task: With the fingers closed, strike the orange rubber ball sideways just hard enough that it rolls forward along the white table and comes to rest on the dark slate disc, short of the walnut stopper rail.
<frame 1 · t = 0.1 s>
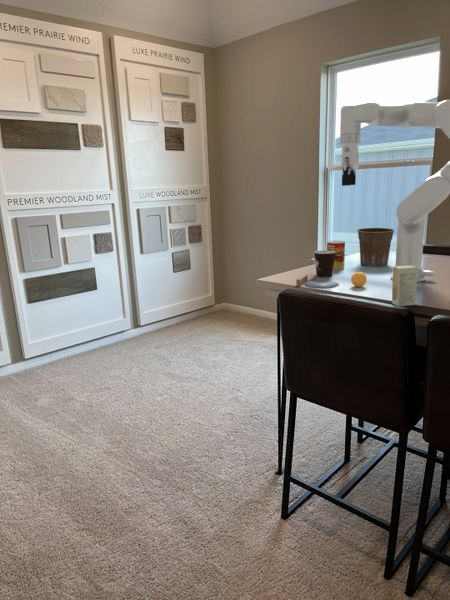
hand: (348, 185, 178), 37 cm above the table, tool pointing down, fingers open, 9 cm apart
ball: (358, 279, 167), on the table
canned food: (335, 268, 205), on the table
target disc: (321, 284, 174), on the table
coffee mug: (324, 275, 191), on the table
skincare box: (403, 304, 143), on the table
plant pot: (374, 264, 209), on the table
stopper rail: (302, 283, 178), on the table
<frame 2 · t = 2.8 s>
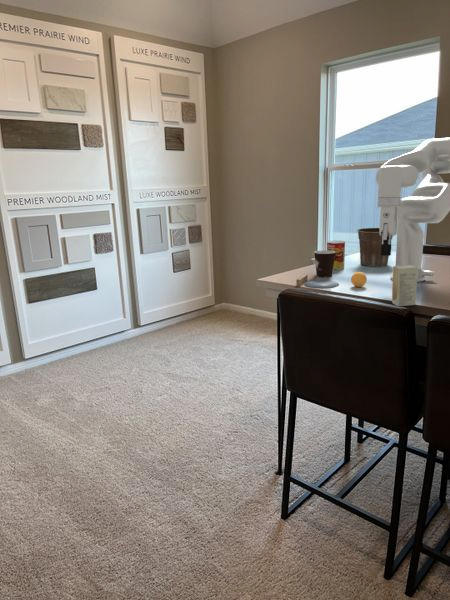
hand: (385, 255, 161), 12 cm above the table, tool pointing down, fingers closed
nothing on the table moved.
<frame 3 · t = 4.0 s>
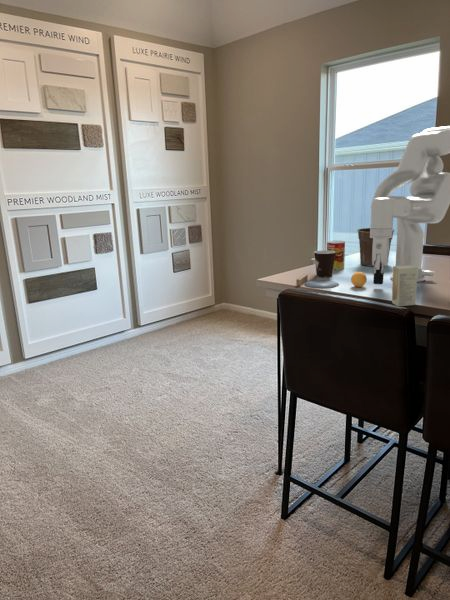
hand: (378, 283, 164), 2 cm above the table, tool pointing down, fingers closed
nothing on the table moved.
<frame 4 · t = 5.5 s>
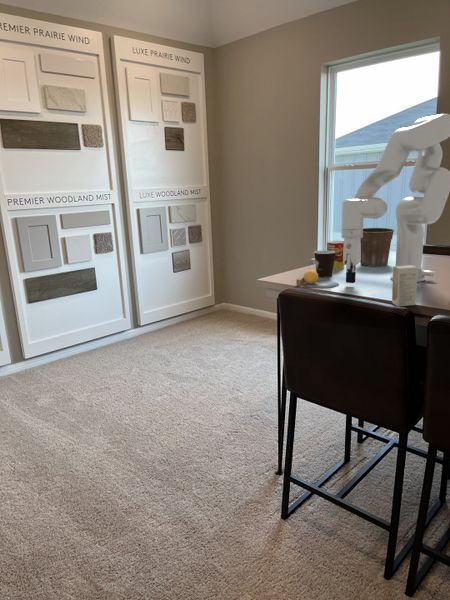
hand: (350, 282, 169), 2 cm above the table, tool pointing down, fingers closed
ball: (310, 277, 175), on the table
everything else where it was.
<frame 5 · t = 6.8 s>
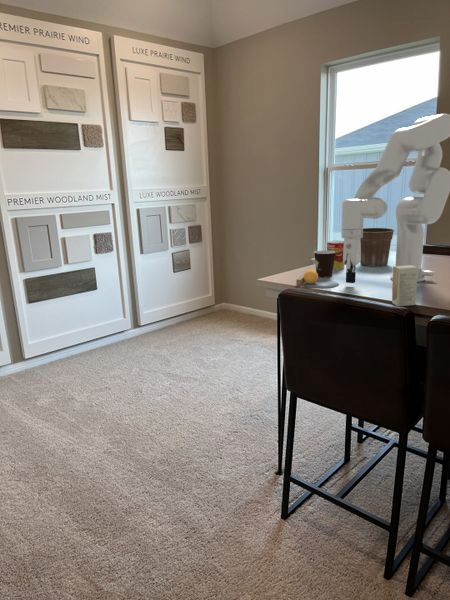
hand: (350, 282, 169), 2 cm above the table, tool pointing down, fingers closed
nothing on the table moved.
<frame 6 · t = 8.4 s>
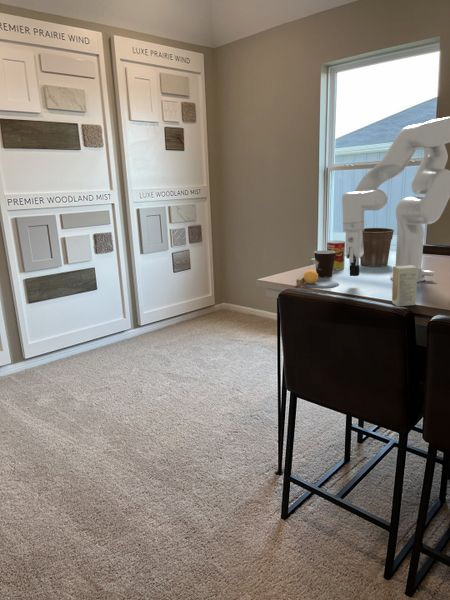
hand: (354, 275, 169), 4 cm above the table, tool pointing down, fingers closed
nothing on the table moved.
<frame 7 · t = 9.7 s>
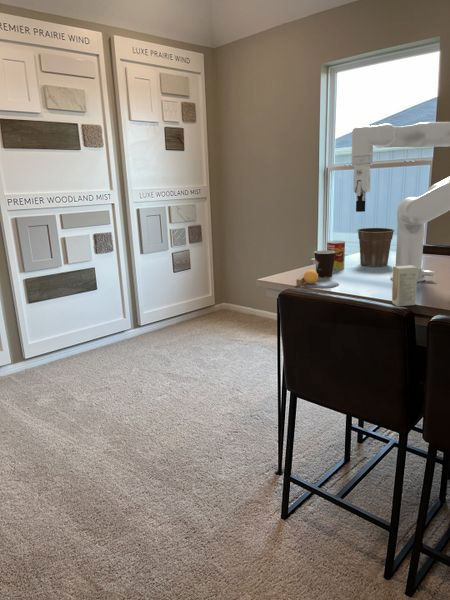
hand: (360, 211, 172), 27 cm above the table, tool pointing down, fingers closed
nothing on the table moved.
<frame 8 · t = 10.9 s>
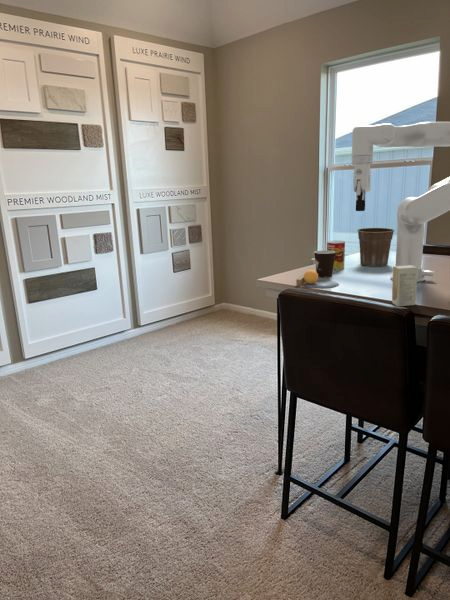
hand: (360, 210, 173), 27 cm above the table, tool pointing down, fingers closed
nothing on the table moved.
at the end: ball 4.1 cm from the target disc (horizontally); ball at rest at the end (0.0 cm/s); ball moved 18.1 cm from its start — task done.
